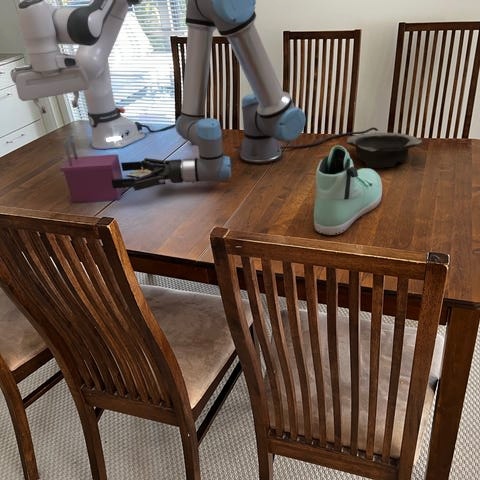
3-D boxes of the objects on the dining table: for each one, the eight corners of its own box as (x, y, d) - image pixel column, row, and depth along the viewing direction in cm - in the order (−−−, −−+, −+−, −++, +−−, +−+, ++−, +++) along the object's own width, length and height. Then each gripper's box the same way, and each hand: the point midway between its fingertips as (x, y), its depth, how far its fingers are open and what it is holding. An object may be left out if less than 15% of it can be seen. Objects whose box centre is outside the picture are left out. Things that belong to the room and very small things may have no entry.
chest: (72, 202, 155) (63, 171, 150) (80, 190, 163) (72, 160, 158) (118, 199, 155) (111, 168, 149) (124, 187, 162) (118, 157, 157)
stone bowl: (379, 179, 153) (379, 151, 149) (331, 161, 173) (330, 135, 169) (436, 160, 162) (438, 133, 158) (384, 144, 182) (385, 120, 178)
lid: (61, 171, 150) (53, 144, 145) (70, 160, 158) (62, 134, 153) (111, 168, 149) (105, 141, 144) (118, 157, 157) (112, 131, 152)
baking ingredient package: (126, 174, 170) (150, 159, 182) (126, 175, 171) (151, 160, 182) (146, 177, 167) (170, 162, 178) (146, 178, 167) (170, 163, 179)
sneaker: (389, 187, 148) (396, 123, 138) (356, 242, 123) (361, 168, 112) (346, 181, 154) (350, 119, 144) (306, 232, 129) (307, 161, 118)
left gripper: (9, 69, 131) (24, 119, 138) (84, 58, 138) (95, 106, 145) (7, 66, 136) (22, 114, 143) (80, 55, 143) (90, 101, 150)
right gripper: (180, 198, 145) (110, 203, 146) (188, 166, 166) (127, 170, 167) (176, 176, 141) (105, 180, 142) (185, 146, 162) (123, 150, 163)
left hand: (59, 110), depth 144 cm, fingers open, 8 cm apart
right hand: (117, 175), depth 154 cm, fingers open, 13 cm apart
